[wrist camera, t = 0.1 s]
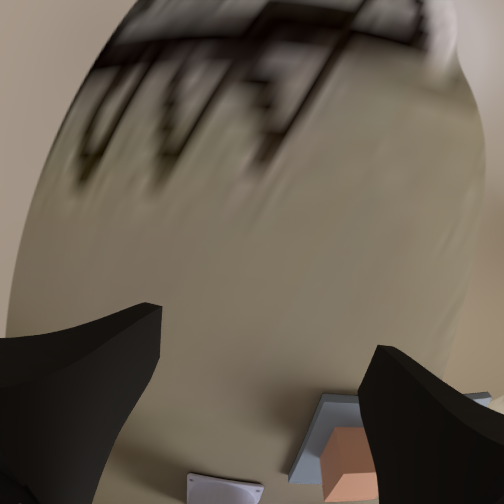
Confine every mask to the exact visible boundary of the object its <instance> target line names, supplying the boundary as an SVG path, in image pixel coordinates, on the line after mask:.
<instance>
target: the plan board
mask: <svg viewBox="0 0 504 504" xmlns="http://www.w3.org/2000/svg"><path fill="white" fill-rule="evenodd" d="M463 395H465V396H466V397H468V398H470V399H472V400H474V401H476V402H477V403H479V404H481V405H483V406H485V407H487V405H488V404H489V402H490V400H491V399H492V397H491V395H490V394H489V393H488V392H481V393H470V394H463ZM335 427H364V426H363V422H362V419H361V415H360V408H359V399H358V396H354V395H337V394H323V393H322V396H321V399H320V401H319V404H318V407H317V409H316V412H315V414H314V417H313V419H312V422H311V424H310V427H309V429H308V432H307V434H306V436H305V439H304V441H303V443H302V446H301V448H300V450H299V453H298V455H297V457H296V459H295V462H294V464H293V466H292V468H291V470H290V472H289V475H288V483H300V484H322V477H321V468H320V459H319V458H320V456H321V454H322V452H323V450H324V448H325V446H326V444H327V442H328V440H329V438H330V436H331V434H332V432H333V430H334V428H335Z"/></svg>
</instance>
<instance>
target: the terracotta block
mask: <svg viewBox="0 0 504 504" xmlns="http://www.w3.org/2000/svg"><path fill="white" fill-rule="evenodd" d="M319 459H320V468H321V477H322V487H323V496H324V502H340V501H358V500H370V499H375V498H376V497H377V496H378V495H379V494H378V485H377V476H376V471H375V466H374V462H373V458H372V455H371V451H370V447H369V444H368V440H367V437H366V433H365V430H364V427H335V428H334V430H333V432H332V434H331V436H330V438H329V440H328V442H327V444H326V446H325V448H324V450H323V452H322V454H321V456H320V458H319Z"/></svg>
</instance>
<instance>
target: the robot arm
mask: <svg viewBox="0 0 504 504" xmlns="http://www.w3.org/2000/svg"><path fill="white" fill-rule="evenodd" d="M161 320H162V306H159V305H154V304H150V303H146V302H144V303H140V304H137V305H135V306H132V307H129V308H127V309H124V310H122V311H119V312H116V313H114V314H111V315H109V316H106V317H103V318H101V319H98V320H95V321H92V322H89V323H86V324H82V325H79V326H76V327H73V328H69V329H65V330H61V331H57V332H52V333H47V334H41V335H33V336H24V337H15V338H0V504H92V501H93V498H94V495H95V492H96V489H97V486H98V483H99V480H100V477H101V475H102V472H103V469H104V467H105V464H106V462H107V459H108V457H109V454H110V452H111V449H112V447H113V445H114V442H115V440H116V438H117V436H118V434H119V432H120V430H121V428H122V426H123V425H124V423H125V421H126V420H127V418H128V416H129V415H130V413H131V411H132V410H133V408H134V406H135V405H136V403H137V401H138V400H139V398H140V397H141V395H142V393H143V391H144V390H145V388H146V386H147V385H148V383H149V381H150V379H151V377H152V375H153V372H154V370H155V368H156V365H157V363H158V360H159V358H160V339H161ZM358 399H359V408H360V415H361V419H362V422H363V426H364V430H365V433H366V437H367V440H368V444H369V447H370V451H371V455H372V458H373V462H374V466H375V471H376V476H377V485H378V494H379V504H504V415H503V414H501V413H499V412H496V411H494V410H491V409H489V408H487V407H485V406H483V405H481V404H479V403H477V402H476V401H474V400H472V399H470V398H468V397H466V396H465V395H463V394H461V393H460V392H458V391H457V390H455V389H454V388H452V387H451V386H449V385H448V384H446V383H445V382H443V381H442V380H440V379H439V378H438V377H436V376H435V375H434V374H432V373H431V372H429V371H428V370H427V369H425V368H424V367H423V366H421V365H420V364H419V363H417V362H416V361H415V360H413V359H412V358H411V357H409V356H408V355H406V354H405V353H403V352H402V351H400V350H399V349H397V348H395V347H393V346H384V345H377V348H376V350H375V353H374V355H373V357H372V360H371V362H370V364H369V367H368V369H367V371H366V374H365V376H364V378H363V380H362V383H361V385H360V387H359V389H358ZM263 490H264V486H263V485H261V484H254V483H245V482H238V481H231V480H225V479H219V478H213V477H208V476H203V475H198V474H193V473H189V474H188V475H187V504H258V502H259V499H260V497H261V494H262V492H263Z"/></svg>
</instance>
